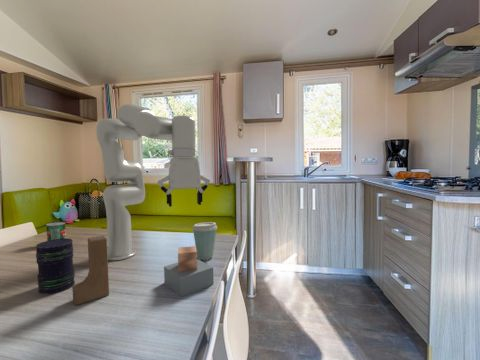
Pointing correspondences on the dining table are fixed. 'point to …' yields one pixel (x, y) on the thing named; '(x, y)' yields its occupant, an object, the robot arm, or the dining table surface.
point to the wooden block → (94, 273)
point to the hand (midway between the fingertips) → (184, 205)
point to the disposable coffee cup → (205, 239)
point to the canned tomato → (56, 231)
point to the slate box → (188, 278)
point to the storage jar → (55, 266)
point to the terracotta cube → (187, 258)
